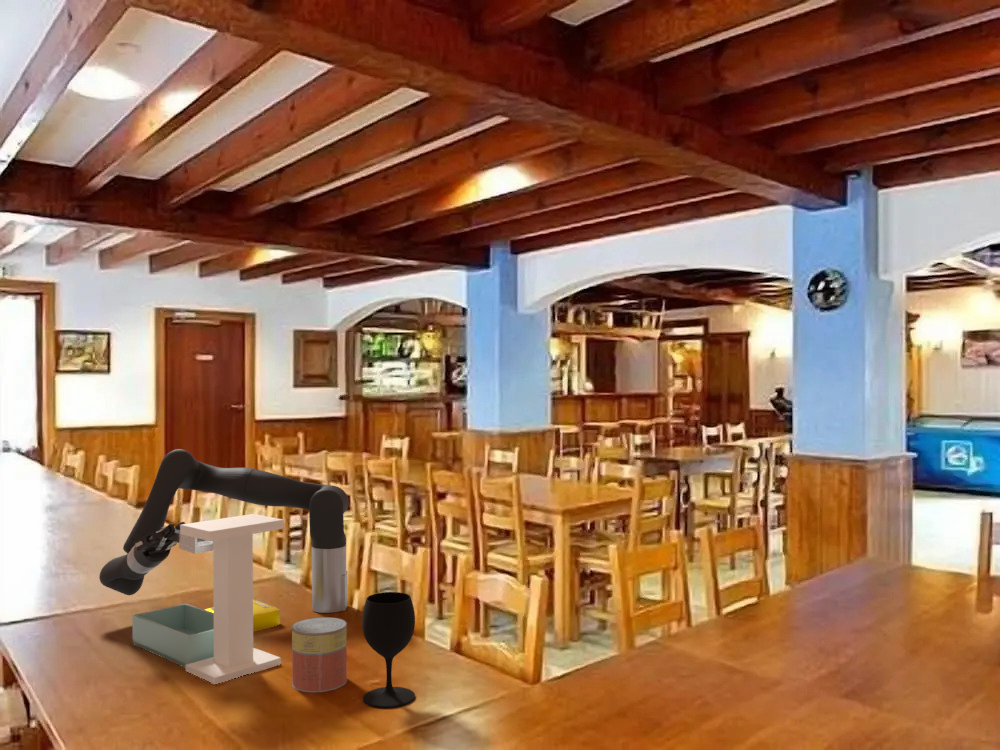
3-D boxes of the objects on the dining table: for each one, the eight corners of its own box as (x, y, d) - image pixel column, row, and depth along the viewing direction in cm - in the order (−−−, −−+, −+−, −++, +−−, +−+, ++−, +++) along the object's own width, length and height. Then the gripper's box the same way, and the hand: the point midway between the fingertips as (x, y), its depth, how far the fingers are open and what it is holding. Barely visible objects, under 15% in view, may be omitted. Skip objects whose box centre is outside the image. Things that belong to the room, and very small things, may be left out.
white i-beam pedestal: (181, 672, 182) (180, 524, 182) (254, 651, 196) (253, 513, 196) (210, 686, 175) (209, 531, 174) (284, 663, 188) (283, 519, 188)
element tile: (282, 626, 217) (282, 607, 217) (228, 639, 207) (227, 619, 207) (254, 614, 228) (253, 596, 228) (200, 626, 217) (200, 607, 217)
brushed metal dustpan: (151, 538, 202) (151, 521, 202) (178, 533, 207) (179, 517, 207) (194, 553, 189) (195, 535, 189) (223, 548, 194) (223, 531, 194)
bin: (132, 644, 202) (132, 615, 202) (186, 631, 212) (185, 603, 212) (187, 669, 185) (187, 637, 185) (242, 653, 195) (242, 622, 195)
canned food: (327, 668, 185) (327, 613, 185) (357, 682, 177) (357, 624, 177) (281, 682, 177) (281, 625, 177) (310, 697, 169) (310, 637, 169)
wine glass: (423, 691, 171) (423, 593, 171) (401, 711, 161) (400, 606, 161) (377, 685, 175) (377, 589, 174) (353, 704, 165) (352, 602, 165)
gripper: (116, 544, 206) (146, 515, 196) (170, 535, 217) (201, 507, 207) (124, 573, 204) (154, 545, 194) (178, 562, 214) (209, 536, 205)
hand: (178, 526), depth 201 cm, fingers closed on brushed metal dustpan, 2 cm apart
